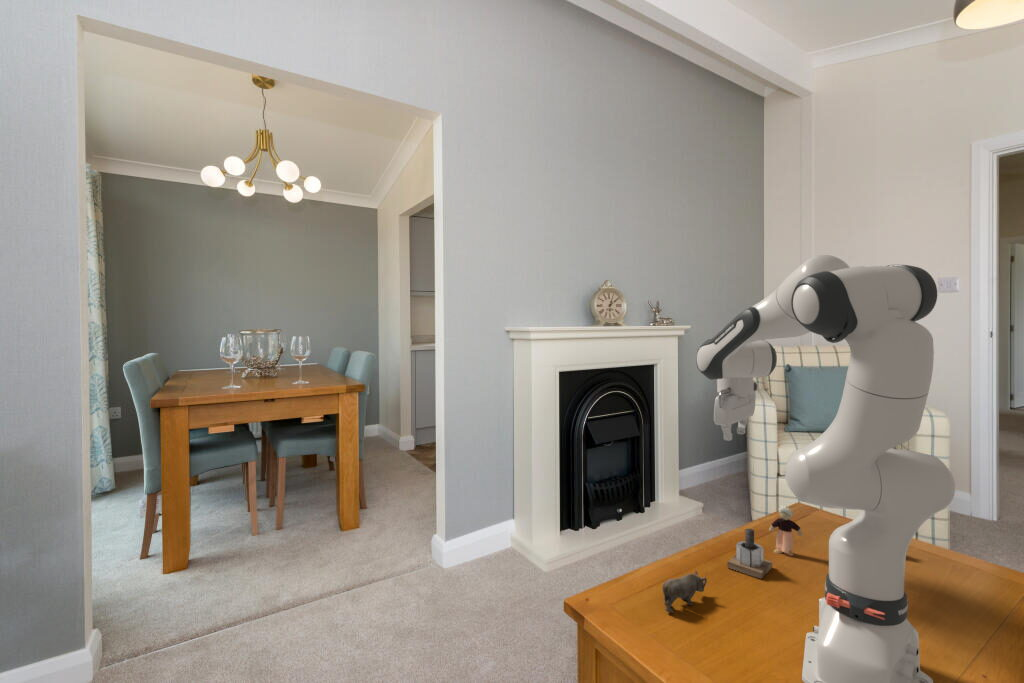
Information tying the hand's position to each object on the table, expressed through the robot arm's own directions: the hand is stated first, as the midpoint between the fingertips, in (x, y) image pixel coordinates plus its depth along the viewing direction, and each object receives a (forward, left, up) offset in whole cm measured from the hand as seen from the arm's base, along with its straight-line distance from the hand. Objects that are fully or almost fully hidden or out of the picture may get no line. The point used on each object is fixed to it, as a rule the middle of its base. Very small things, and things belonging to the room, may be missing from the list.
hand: (734, 437), depth 130 cm
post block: (-7, -6, -31) cm, 32 cm away
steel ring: (-7, -6, -30) cm, 31 cm away
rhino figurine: (-33, -2, -32) cm, 45 cm away
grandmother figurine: (+8, -10, -31) cm, 34 cm away
